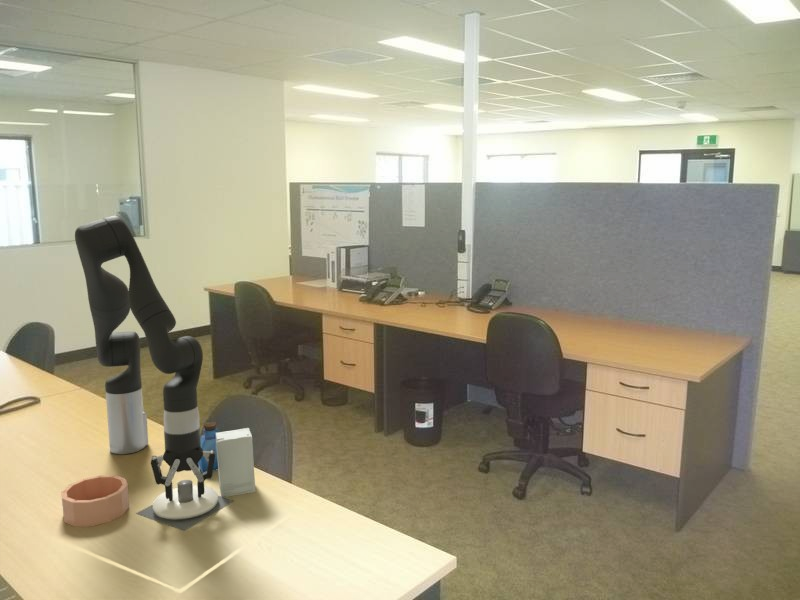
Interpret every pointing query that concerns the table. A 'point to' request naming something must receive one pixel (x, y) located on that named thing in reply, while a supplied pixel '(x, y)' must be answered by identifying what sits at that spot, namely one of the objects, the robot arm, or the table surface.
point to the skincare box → (235, 462)
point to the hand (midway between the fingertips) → (185, 497)
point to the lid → (185, 502)
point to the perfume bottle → (208, 444)
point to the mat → (187, 522)
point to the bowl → (95, 500)
